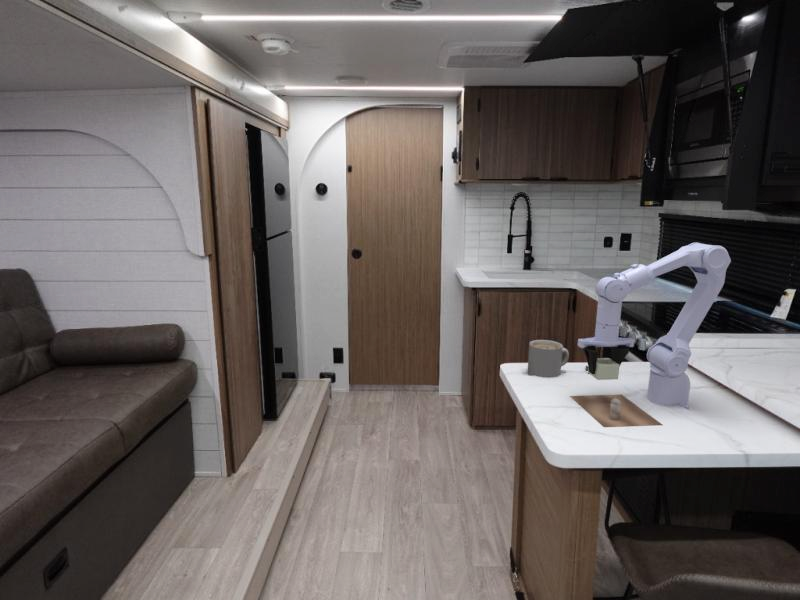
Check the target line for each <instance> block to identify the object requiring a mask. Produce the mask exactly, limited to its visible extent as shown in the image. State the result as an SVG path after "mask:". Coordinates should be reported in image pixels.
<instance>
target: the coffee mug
mask: <svg viewBox="0 0 800 600" xmlns="http://www.w3.org/2000/svg"><path fill="white" fill-rule="evenodd" d="M569 355H570V354H569V350H568V348H565V347H564V346H563V344H562V343H560V342H558V341H554V340H549V339H536V340H535V339H534V340H531V341H529V344H528V358H527V359H528V361H527V372H526V373H527V375H528V376H530V377H531V376H533V377H535V376H536V377H540V378H548V379H549V378H557V377H559V376H561V373H562V372H561V371H562V367H563V366H565V365H566V364H567V363H568V361H569V358H570V357H569Z"/></svg>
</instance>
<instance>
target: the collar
mask: <svg viewBox="0 0 800 600" xmlns="http://www.w3.org/2000/svg"><path fill="white" fill-rule="evenodd" d="M619 366H620V367H621V365H619V364H617V363H616V362H614V361H613V360H612V358H609V357H602V358H601V357H600V358H599V357H598V358H597V362H596V371H595V374H591V373H590V372H589V368H588V373H589V374H588V375H590V376H591V377H593V378H595V380H598V381H602V380H603V381H611V380H619V373H620V367H619Z"/></svg>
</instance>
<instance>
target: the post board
mask: <svg viewBox="0 0 800 600" xmlns="http://www.w3.org/2000/svg"><path fill="white" fill-rule="evenodd" d="M569 397H570V398H571V399H572V400H573V401H574V402H576V403H577V405H579V406H580V407H581V408H582V409H583V410H584V411H585V412H587V414H588V415H590V417H592V418H593V419H594V420H595V421H597V423H598V424H600V426H602V427H603V428H620V427H622V428H623V427H626V428H627V427H645V426H647V427H648V426H651V427H652V426H653V427H654V426H663V424H662V423H661V422H660V421H659V420H657V419H656V418H655V417H653V416H652V415H650V414H649V413H648V412H646V411H645V410H643V409H642V408H641V407H639V406H638V405H637V404H635V403H634V402H632V401H631V400H629V399H628V398H627V397H625V396H624V395H623V394H598V395H597V394H593V395H570V396H569Z"/></svg>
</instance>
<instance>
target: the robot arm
mask: <svg viewBox="0 0 800 600" xmlns="http://www.w3.org/2000/svg"><path fill="white" fill-rule="evenodd" d="M729 254H730V253H728V250H727V249H726V248H725V247H723V246H722V245H715V244H714V245H712V244H705V243H701V242H698V241H697V242H692V243H690V244H689V243H688V245H685V246H684V245H682V246H681V247H680V248H679V249H678V250H676V251H673V252H672V253H670V254H668V255H666V256H664V257H661V258H660V259H658V260H656V261H654V262H652V263H650V264H647V265H645V264H641V263H639V264H638V263H633V264H631V265H630V268H628V269H626V270H624V271H621V272H616V273H613V276H612V277H611V276H605V277H603V278H601V279H599V281H598V282H597V284H596V286H594V291H595V293H596V295H597V296H598V298H597V299H598V301H597V307H596V308H597V310H596V321H595V330H594V331H595V332H594V336H593V337H587V338H578V340H577V347H579V348H580V349H582V350H583V353H584V355H585V358H586V362H587V366H588V368H589V372H590V373H591V374H595V371H596V362H597V358H599V355H600V351H599V350H597V348H605V347H607V348H609V347H610V353H611V360H613V361H614V362H616V363H617V364H619V365H620V366H619V368H620V367H621V365H622V362H623V361H624V359H625V358H626V357H627V355H628V354H629V353H630V348H633V347H635V340H634V339H633V338H632V337H619V336H620V335H619V333H620V325H621V317H622V316H621V315H622V304H623V301H624V300H625V299H626V298H627V297H628V295H629V294H631V293H633V292H635V291H636V292H637V291H638V290H640V289H642V288H644V287H647V286H649V285H651V284H652V282H653V279H654V278H655V277H658V276H660V275H664V274H666V273H669V272H671V271H674V270H676V269H678V268H679V269H680V268H681V267H688V268H689V269H690V270H691V272H693V274H694V276H695V278H696V281H697V283H696V284H695V286H694V288H693V289H692V291H691V293H690V295H689V296H688V298H687V300H686V302H685V304H684V305H683V307H682V309H681V311H680V312H679V314H678V316H677V317H676V319H675V320H674V323H673V324H672V326H671V328H670V330H668V332H667V334H664V335H662V336H660V337H659V338H658V339H657V340H656V342H655V343H654V344H653V345H651V346H650V347H649V348H648V350H647V353H646V359H647V361H648V363H650V364H649V368H650V369H649V370H650V371H649V378H648V387H647V395H646V398H647V401H648V402H649V401H650V402H651V403H654V404H656V405H659V406H660V405H661V406H667V407H668V406H670V407H671V406H676V405H679V406H681V407H683V408H684V409H690V406H689V398H690V397H689V396H690V390H691V379H690V377H689V376H688V374H686V371H687V370H688V367H689V359H690V357H691V356H692V350H691V348H690V343H691V341H692V340H693V338H694V336H695V334H696V333H697V331H698V330H699V328H700V326H701V324H702V322H703V321H704V319H705V317H706V316H707V313H708V312H709V310H710V309H711V307H712V305H713V304H714V302H715V300H717V299H716V298H717V297H718V295H719V294H720V292H721V290H722V289H723V287H724V284H725V280H726V275H727V274H726V272H727V269H728V268H729V265H730V264H731V262H732V260H731V259H732V258H731V257H730V255H729ZM628 347H629V348H628Z"/></svg>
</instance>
